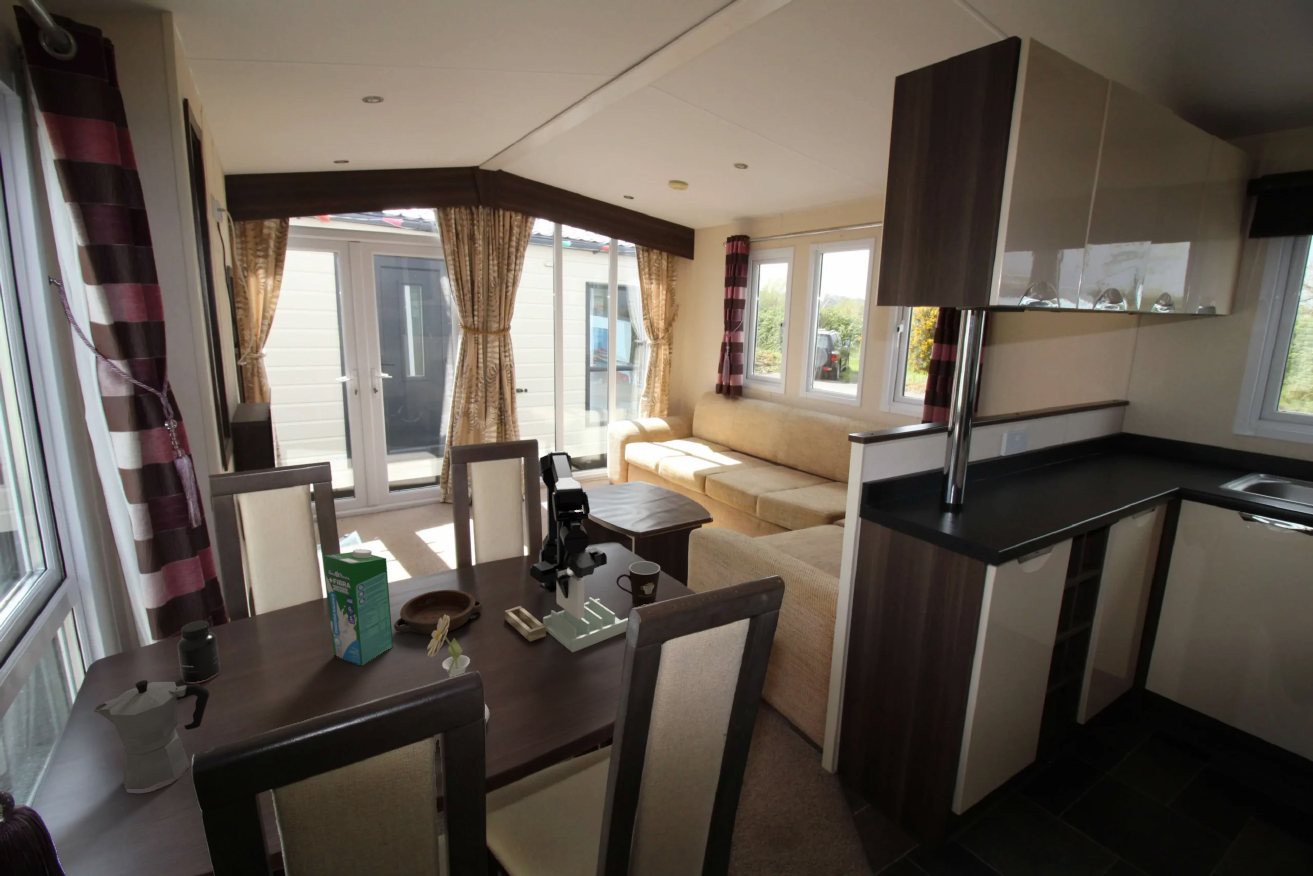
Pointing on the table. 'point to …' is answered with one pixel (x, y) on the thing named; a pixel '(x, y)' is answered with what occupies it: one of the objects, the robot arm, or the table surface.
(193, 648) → the supplement bottle
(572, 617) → the rack
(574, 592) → the white slab
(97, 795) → the table surface
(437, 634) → the flower in vase
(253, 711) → the table surface
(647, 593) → the coffee mug
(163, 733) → the coffeepot
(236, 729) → the table surface
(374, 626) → the milk carton
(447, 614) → the dish
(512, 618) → the stand
